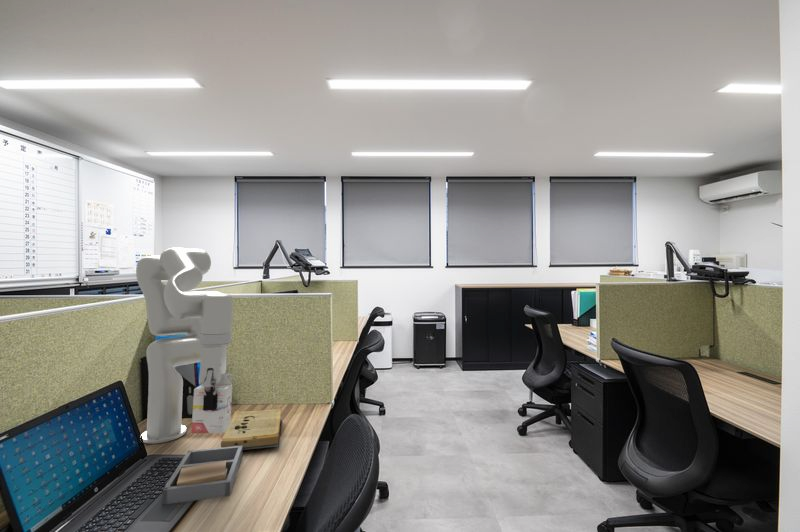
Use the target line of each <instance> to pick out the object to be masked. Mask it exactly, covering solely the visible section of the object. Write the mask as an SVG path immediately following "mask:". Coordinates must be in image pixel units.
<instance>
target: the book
mask: <svg viewBox="0 0 800 532" xmlns="http://www.w3.org/2000/svg"><path fill="white" fill-rule="evenodd" d="M282 424H283V420H282V407H281V406H279V407H277V408H275V409H263V410H261V409H257V410H247V411H241V410H234V413H233V415H232V416H231V423H230V427H229V428H228V429H227V430H226V431H225V432H224V433H223V436H222V438H221V441H220V442H221V443H220V448H222V447H232V446H242V445H243V450H242V451H246V450H253V449H255V450H256V449H265V448H274V447H275V448H276V447H279V445H280V437H281V436H282V428H281V426H283V425H282Z"/></svg>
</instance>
